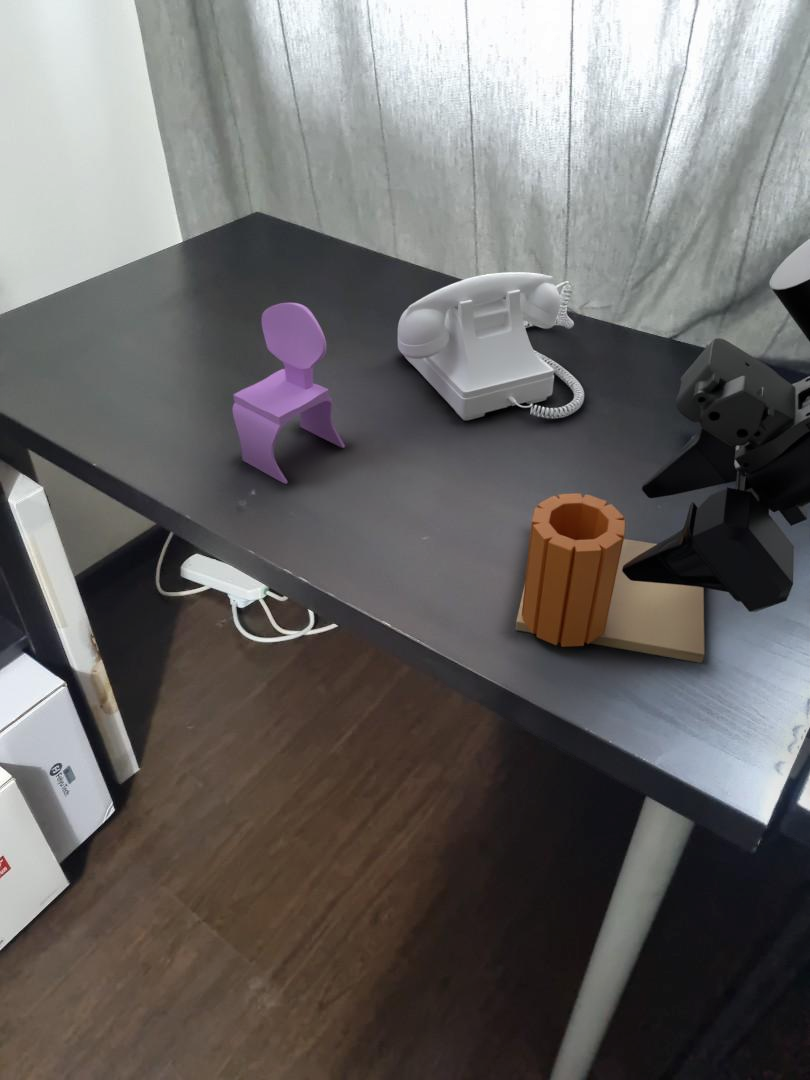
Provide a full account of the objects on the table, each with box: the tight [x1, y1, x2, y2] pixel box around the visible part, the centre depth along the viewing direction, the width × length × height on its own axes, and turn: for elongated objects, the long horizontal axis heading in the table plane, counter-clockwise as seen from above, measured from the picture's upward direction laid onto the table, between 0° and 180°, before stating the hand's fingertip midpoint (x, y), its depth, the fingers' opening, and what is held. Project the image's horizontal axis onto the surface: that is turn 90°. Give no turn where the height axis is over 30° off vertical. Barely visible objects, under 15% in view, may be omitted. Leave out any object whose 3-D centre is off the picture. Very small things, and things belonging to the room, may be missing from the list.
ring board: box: [515, 538, 706, 664], centre depth 66 cm, size 14×12×5 cm
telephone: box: [397, 271, 585, 421], centre depth 90 cm, size 25×21×12 cm
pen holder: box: [522, 492, 627, 648], centre depth 61 cm, size 6×7×10 cm
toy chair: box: [232, 302, 346, 485], centre depth 78 cm, size 8×9×15 cm
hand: (636, 530), depth 57 cm, fingers open, 9 cm apart
